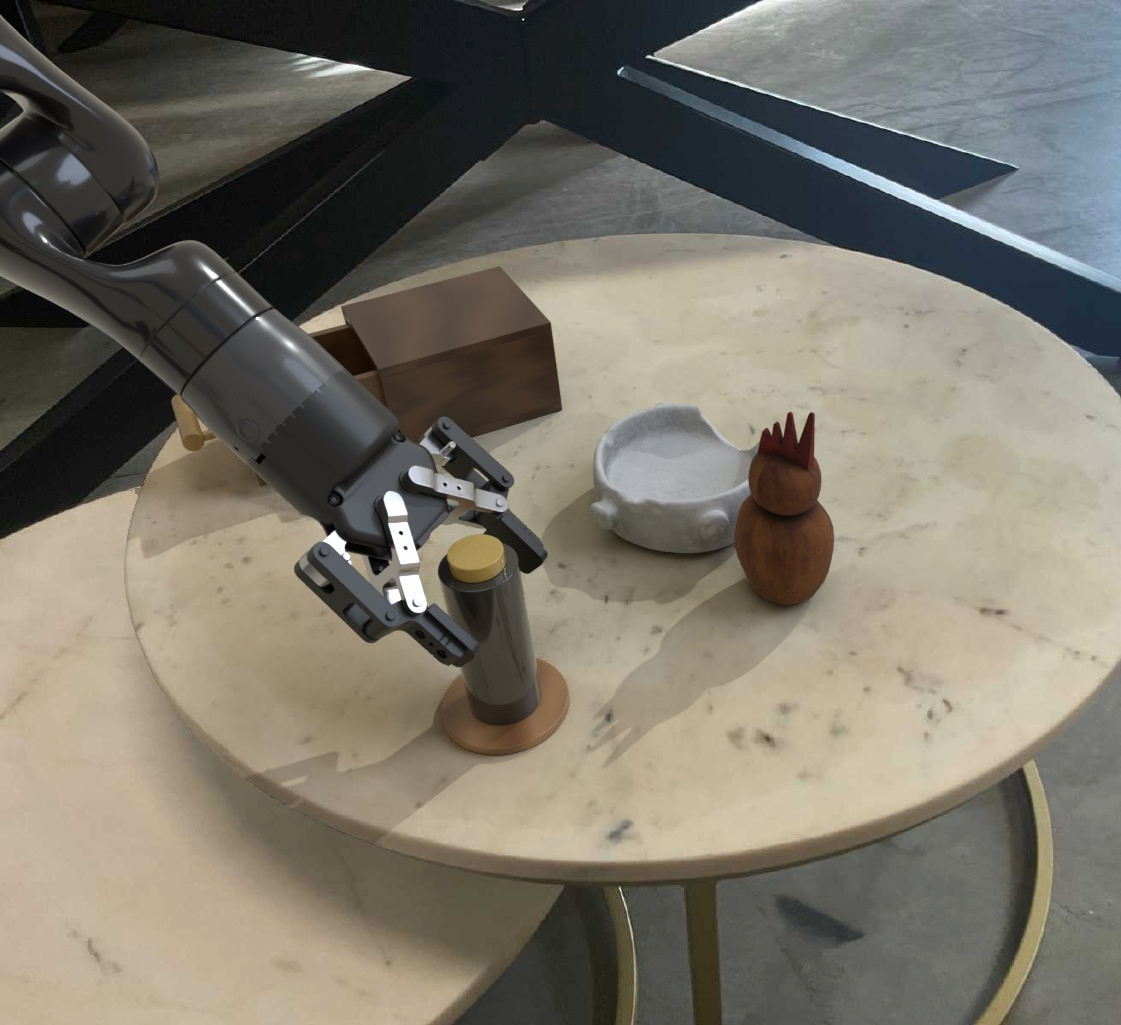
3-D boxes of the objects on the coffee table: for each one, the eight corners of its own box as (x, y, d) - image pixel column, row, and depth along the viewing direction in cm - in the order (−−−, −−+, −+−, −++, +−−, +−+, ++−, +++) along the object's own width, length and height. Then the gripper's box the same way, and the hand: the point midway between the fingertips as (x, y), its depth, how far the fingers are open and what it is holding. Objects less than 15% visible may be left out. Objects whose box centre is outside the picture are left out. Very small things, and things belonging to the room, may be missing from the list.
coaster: (466, 774, 68) (464, 767, 67) (427, 688, 73) (425, 682, 73) (589, 724, 70) (588, 717, 70) (542, 645, 76) (541, 638, 76)
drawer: (204, 504, 89) (176, 431, 85) (184, 434, 98) (158, 365, 93) (423, 438, 95) (407, 368, 91) (387, 378, 103) (371, 311, 99)
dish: (647, 437, 95) (643, 386, 92) (801, 476, 90) (802, 423, 87) (555, 537, 85) (546, 483, 82) (721, 587, 80) (719, 531, 77)
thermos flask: (482, 736, 69) (448, 588, 62) (459, 687, 73) (424, 542, 65) (552, 708, 71) (527, 560, 63) (526, 662, 74) (499, 517, 67)
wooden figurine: (847, 595, 79) (857, 412, 69) (781, 630, 76) (782, 445, 67) (786, 546, 83) (788, 368, 74) (722, 578, 81) (716, 397, 72)
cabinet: (400, 459, 95) (378, 369, 89) (362, 391, 104) (340, 306, 98) (562, 410, 99) (551, 322, 94) (513, 349, 108) (500, 265, 103)
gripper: (338, 382, 70) (527, 561, 74) (181, 516, 60) (410, 717, 63) (394, 317, 66) (594, 511, 69) (233, 450, 55) (478, 672, 59)
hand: (505, 610), depth 66 cm, fingers open, 8 cm apart
